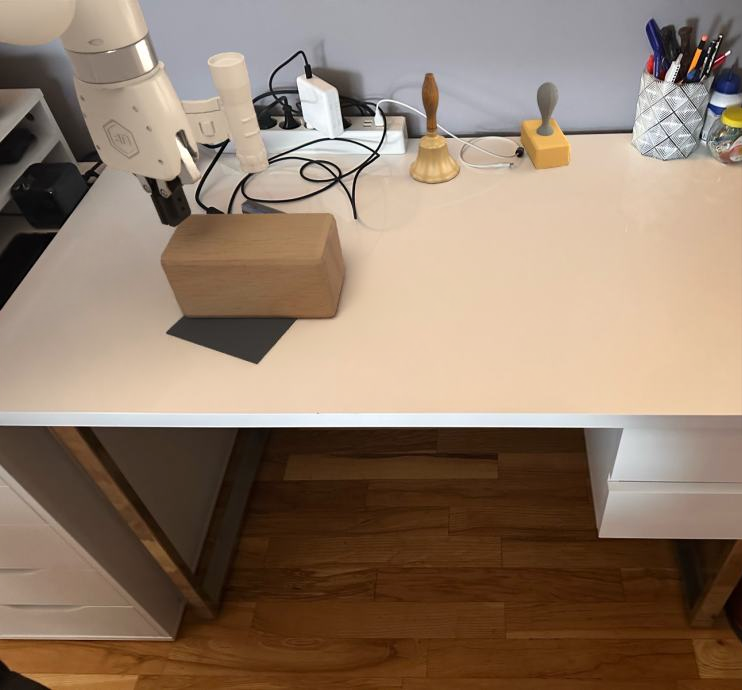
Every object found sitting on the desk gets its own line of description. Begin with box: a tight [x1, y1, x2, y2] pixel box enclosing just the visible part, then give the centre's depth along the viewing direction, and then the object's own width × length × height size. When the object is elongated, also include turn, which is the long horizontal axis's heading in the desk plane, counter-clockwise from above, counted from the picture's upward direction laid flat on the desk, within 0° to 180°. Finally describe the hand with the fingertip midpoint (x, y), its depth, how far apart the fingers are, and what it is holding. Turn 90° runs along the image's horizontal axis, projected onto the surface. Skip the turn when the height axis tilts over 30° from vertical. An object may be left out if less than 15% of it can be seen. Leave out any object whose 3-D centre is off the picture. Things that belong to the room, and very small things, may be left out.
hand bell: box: [408, 72, 460, 184], centre depth 106 cm, size 8×8×16 cm
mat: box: [165, 315, 299, 365], centre depth 87 cm, size 12×14×1 cm
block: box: [160, 212, 346, 318], centre depth 86 cm, size 10×10×20 cm
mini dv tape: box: [240, 199, 286, 214], centre depth 96 cm, size 8×2×6 cm, turn 60°
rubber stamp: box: [520, 81, 571, 170], centre depth 110 cm, size 10×6×12 cm, turn 11°
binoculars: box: [159, 51, 269, 174], centre depth 107 cm, size 17×5×18 cm, turn 100°
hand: (177, 219), depth 77 cm, fingers closed
